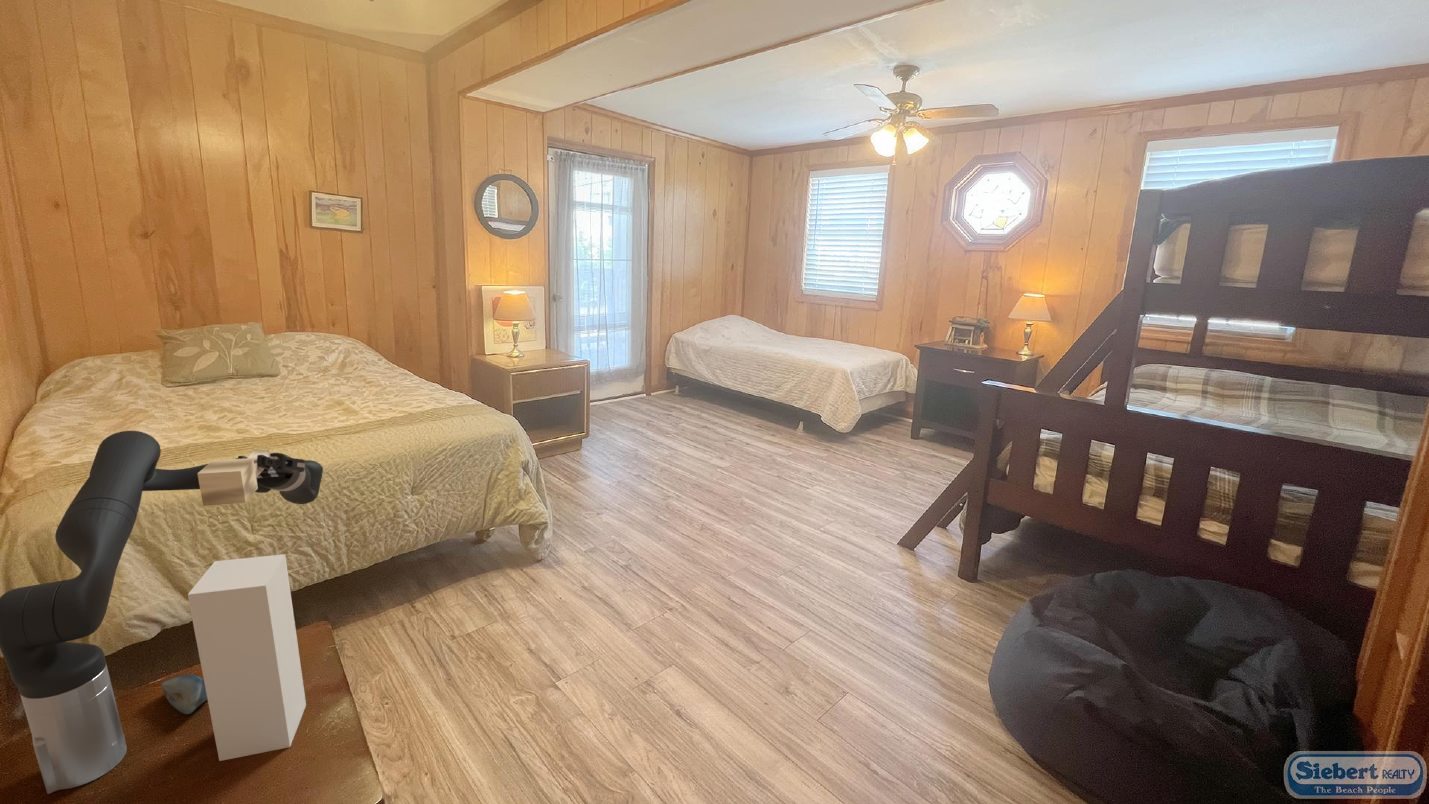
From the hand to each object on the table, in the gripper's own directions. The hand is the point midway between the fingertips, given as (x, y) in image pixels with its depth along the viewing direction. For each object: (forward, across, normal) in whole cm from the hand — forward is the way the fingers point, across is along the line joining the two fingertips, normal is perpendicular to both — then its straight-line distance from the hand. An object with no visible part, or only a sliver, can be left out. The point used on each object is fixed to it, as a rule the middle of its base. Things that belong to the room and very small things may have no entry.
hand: (249, 460), depth 113 cm
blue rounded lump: (-12, -11, +44) cm, 47 cm away
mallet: (+1, 0, +4) cm, 4 cm away
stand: (-2, +4, +49) cm, 49 cm away
